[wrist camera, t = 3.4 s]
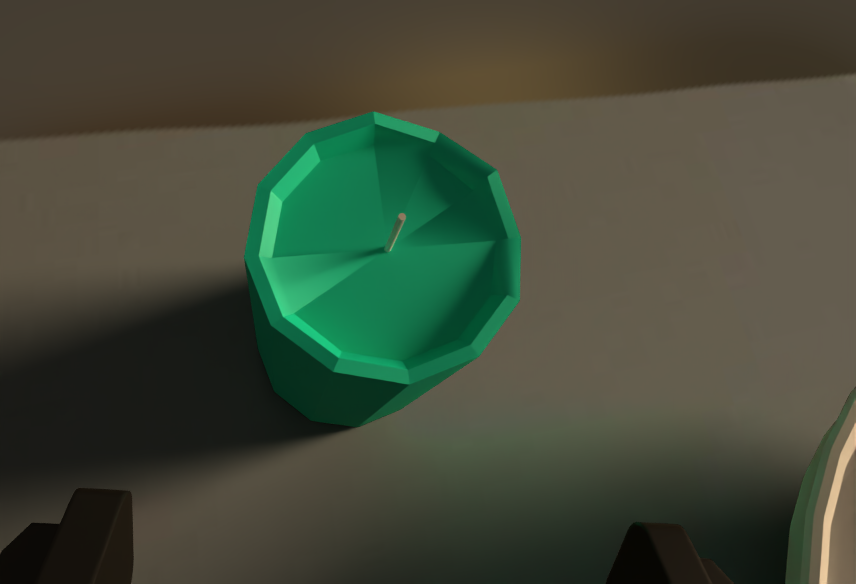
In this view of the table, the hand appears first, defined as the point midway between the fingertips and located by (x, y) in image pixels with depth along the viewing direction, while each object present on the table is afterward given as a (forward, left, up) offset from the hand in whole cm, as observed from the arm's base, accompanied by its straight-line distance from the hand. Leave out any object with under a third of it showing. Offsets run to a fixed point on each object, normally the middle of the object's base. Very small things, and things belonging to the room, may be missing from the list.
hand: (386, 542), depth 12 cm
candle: (+4, +4, -13) cm, 14 cm away
